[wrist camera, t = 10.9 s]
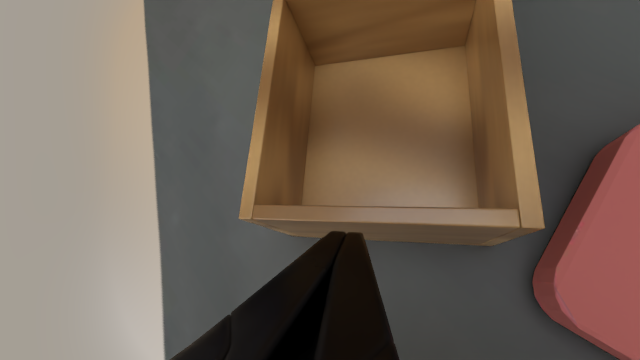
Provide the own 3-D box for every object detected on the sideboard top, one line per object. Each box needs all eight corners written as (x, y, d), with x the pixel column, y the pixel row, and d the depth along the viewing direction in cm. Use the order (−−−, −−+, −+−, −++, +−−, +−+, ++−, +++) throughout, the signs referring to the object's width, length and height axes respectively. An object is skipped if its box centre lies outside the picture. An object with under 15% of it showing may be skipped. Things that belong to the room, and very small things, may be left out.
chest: (492, 246, 18) (545, 228, 11) (292, 236, 22) (237, 218, 15) (474, 43, 23) (503, -62, 16) (310, 65, 27) (274, -10, 20)
